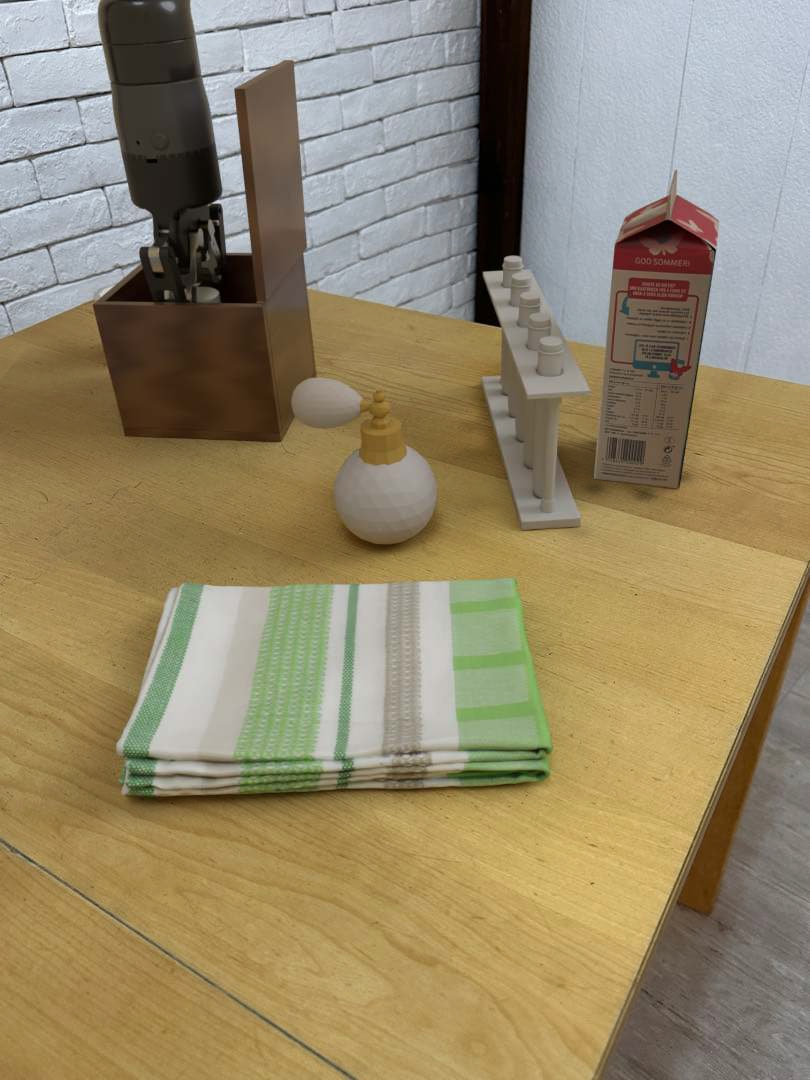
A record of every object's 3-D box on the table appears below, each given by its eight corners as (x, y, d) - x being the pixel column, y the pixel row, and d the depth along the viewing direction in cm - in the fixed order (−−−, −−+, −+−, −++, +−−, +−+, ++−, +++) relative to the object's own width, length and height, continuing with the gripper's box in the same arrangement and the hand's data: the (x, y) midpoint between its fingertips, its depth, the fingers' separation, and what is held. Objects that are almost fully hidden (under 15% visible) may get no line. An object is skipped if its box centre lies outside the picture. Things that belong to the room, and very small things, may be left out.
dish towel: (176, 604, 61) (166, 563, 59) (515, 587, 61) (516, 545, 59) (116, 812, 47) (100, 767, 45) (556, 791, 47) (559, 744, 45)
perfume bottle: (446, 555, 65) (442, 404, 58) (310, 570, 64) (290, 419, 57) (430, 500, 71) (425, 356, 64) (306, 513, 70) (287, 369, 63)
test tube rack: (481, 384, 87) (482, 246, 80) (526, 381, 87) (532, 243, 80) (520, 530, 67) (527, 364, 59) (580, 526, 67) (594, 360, 59)
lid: (233, 88, 63) (244, 88, 63) (284, 59, 74) (293, 60, 74) (256, 301, 72) (266, 301, 72) (298, 247, 83) (307, 248, 83)
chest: (124, 435, 82) (91, 304, 75) (178, 372, 93) (153, 252, 86) (280, 442, 80) (262, 307, 72) (316, 375, 90) (303, 252, 83)
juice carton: (593, 478, 72) (619, 192, 60) (604, 439, 77) (629, 168, 65) (679, 488, 70) (724, 196, 58) (684, 447, 76) (726, 171, 63)
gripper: (156, 122, 79) (191, 309, 89) (84, 161, 68) (133, 371, 77) (239, 121, 78) (264, 310, 88) (180, 161, 66) (217, 373, 76)
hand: (203, 338), depth 82 cm, fingers closed on supplement bottle, 5 cm apart
